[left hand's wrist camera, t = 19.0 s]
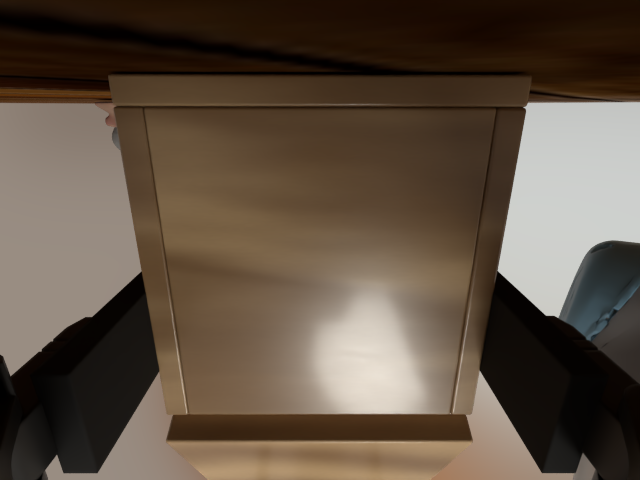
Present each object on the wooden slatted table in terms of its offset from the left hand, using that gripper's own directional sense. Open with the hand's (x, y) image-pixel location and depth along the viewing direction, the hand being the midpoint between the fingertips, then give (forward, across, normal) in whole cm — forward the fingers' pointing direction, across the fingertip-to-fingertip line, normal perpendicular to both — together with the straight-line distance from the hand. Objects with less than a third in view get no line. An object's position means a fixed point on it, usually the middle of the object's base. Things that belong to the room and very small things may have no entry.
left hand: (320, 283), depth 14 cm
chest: (+5, 0, -7) cm, 8 cm away
